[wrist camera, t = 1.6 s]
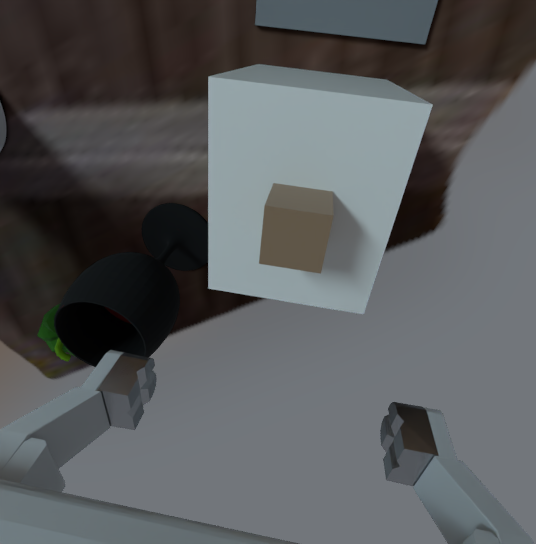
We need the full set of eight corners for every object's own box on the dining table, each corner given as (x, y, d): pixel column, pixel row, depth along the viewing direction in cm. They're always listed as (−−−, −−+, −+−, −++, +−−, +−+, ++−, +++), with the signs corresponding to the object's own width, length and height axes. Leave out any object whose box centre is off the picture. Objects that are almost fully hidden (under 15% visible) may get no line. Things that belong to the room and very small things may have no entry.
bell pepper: (56, 293, 57) (10, 334, 49) (94, 282, 55) (53, 324, 46) (86, 330, 61) (49, 374, 53) (123, 321, 59) (90, 366, 50)
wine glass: (136, 251, 50) (42, 352, 34) (150, 189, 45) (46, 273, 28) (202, 280, 51) (143, 391, 35) (225, 222, 46) (166, 323, 29)
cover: (248, 206, 44) (192, 319, 26) (258, 64, 35) (185, 82, 17) (351, 221, 43) (368, 350, 25) (386, 79, 34) (454, 116, 16)
